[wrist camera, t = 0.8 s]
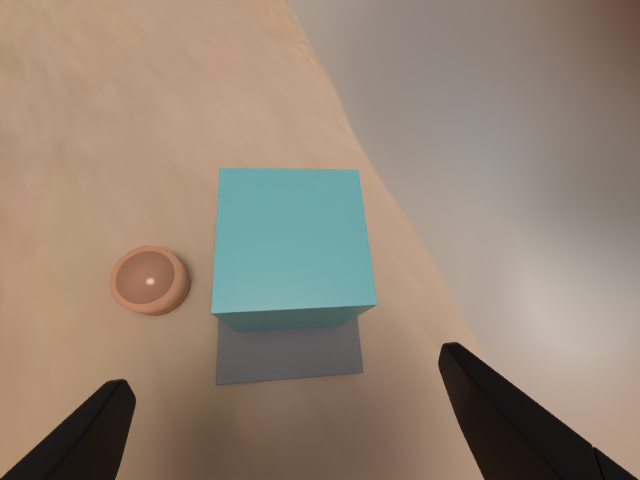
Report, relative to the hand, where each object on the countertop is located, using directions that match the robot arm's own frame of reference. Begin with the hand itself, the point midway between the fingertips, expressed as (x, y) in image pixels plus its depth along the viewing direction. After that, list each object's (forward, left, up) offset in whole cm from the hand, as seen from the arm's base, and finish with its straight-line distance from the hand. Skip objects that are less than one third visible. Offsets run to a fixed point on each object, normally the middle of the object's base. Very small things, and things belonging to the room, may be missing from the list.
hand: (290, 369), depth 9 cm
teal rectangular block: (+6, -1, -13) cm, 15 cm away
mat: (+5, -1, -14) cm, 15 cm away
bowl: (+6, +9, -14) cm, 18 cm away
